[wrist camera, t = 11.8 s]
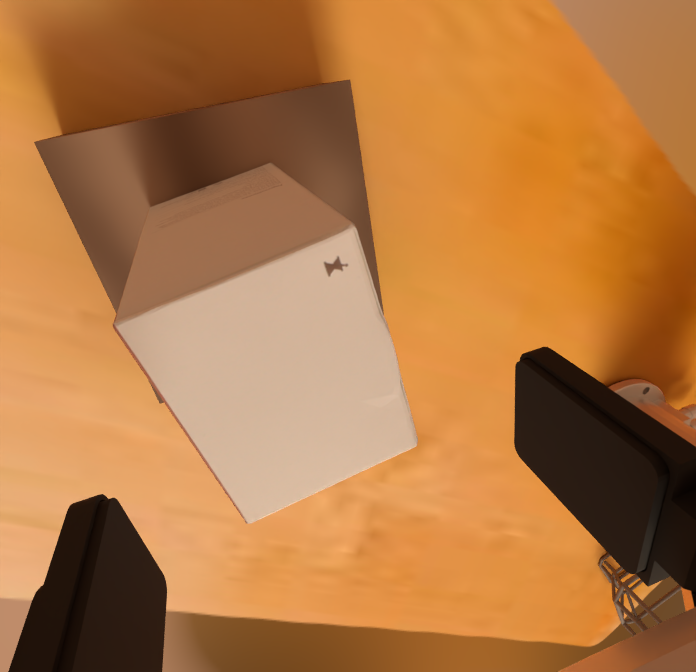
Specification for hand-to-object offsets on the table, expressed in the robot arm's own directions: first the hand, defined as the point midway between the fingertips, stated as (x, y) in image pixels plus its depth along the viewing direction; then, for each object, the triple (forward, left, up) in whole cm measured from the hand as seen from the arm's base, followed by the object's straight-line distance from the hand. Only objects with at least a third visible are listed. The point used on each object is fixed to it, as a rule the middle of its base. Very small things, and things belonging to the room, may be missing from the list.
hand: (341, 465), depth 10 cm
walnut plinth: (0, 0, -21) cm, 21 cm away
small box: (0, 0, -16) cm, 16 cm away
